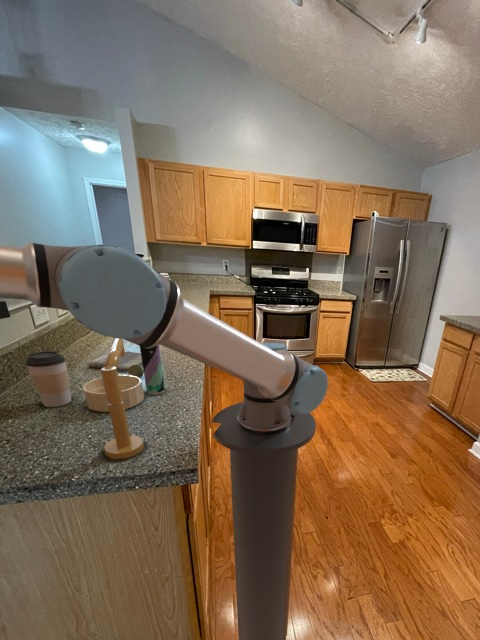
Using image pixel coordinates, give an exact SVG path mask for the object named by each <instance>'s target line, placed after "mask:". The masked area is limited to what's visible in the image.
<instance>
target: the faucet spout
mask: <svg viewBox="0 0 480 640" xmlns="http://www.w3.org/2000/svg"><path fill="white" fill-rule="evenodd" d="M124 343H125V342H124V339H117V338H114V339H113V341H112V345H111V348H110V350H109V352H108V353H109V355H108V358H107V361H106V363H105V366H104V368H100V374H101V377H102V378H103V382H104V387H105V391H106V396H107V401H108V403H109V404H118V403H120V402H122V401H123V400H122V395H121V390H120V385H119V380H118V375H119V374H118V370H117V367H118V363H119V359H120V357H122V356H125V352H126V351H125V344H124Z"/></svg>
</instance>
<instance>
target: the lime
mask: <svg viewBox="0 0 480 640" xmlns="http://www.w3.org/2000/svg"><path fill="white" fill-rule="evenodd" d="M127 373H128V374H127V375H131V376H136V377H139V378H140V379H141V378H143V377H144V370H143V366H139V365H132V366H130V367H129V370H128V371H127Z"/></svg>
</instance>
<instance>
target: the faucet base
mask: <svg viewBox="0 0 480 640" xmlns="http://www.w3.org/2000/svg"><path fill="white" fill-rule="evenodd" d="M108 408H109V412H108V413H109V416H110V422H111V426H112V430H113V435H114V438H112V439H110V440H109V441H108V442H106V443H105V445H104V446H103V450H104V453H105V456H106V457H107V458H109V459H113V460H125V459H129V458H132V457H135V456H137V455H138V454H140V453H141V452H142V451H143V450H144V448H145V443H144V439H143V437H141V436H139V435H136V434H135V435H134V434H131V433H130V428H129V423H128V418H127V414H126V409H125V407H124V402H123V401H122V402H120V403H118V404H109V403H108Z"/></svg>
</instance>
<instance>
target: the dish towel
mask: <svg viewBox="0 0 480 640" xmlns="http://www.w3.org/2000/svg"><path fill="white" fill-rule="evenodd" d="M109 353H110V352H108V353H106V354H103V355H102V356H100V357H97V358H95V359H93V360H91V361H89V362H88V364H87V366H88V367H91V368H95V369H96V368H97V369H101V368H104V366H105V363H106V361H107V358H108V355H109ZM132 365H139V366H141V367H143V364H142V358H141V352H133V351H129V350H127V351H125V356H122V357H120V359H119V363H118V367H117V371H122V372H128V370H129V367H130V366H132Z"/></svg>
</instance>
